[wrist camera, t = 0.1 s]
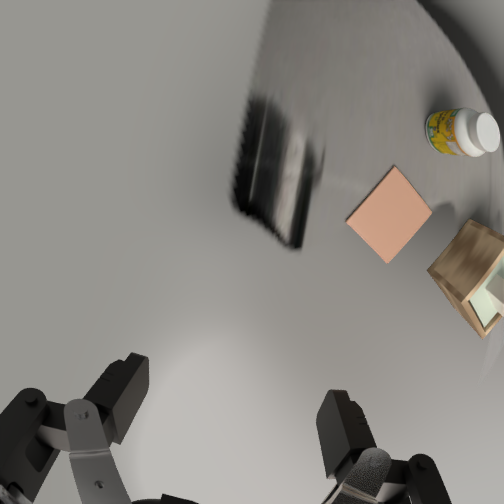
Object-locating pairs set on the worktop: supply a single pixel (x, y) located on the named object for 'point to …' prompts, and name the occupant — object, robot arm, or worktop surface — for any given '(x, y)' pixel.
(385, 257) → the plate
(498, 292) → the lid
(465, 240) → the crate
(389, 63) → the worktop surface
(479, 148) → the supplement bottle
